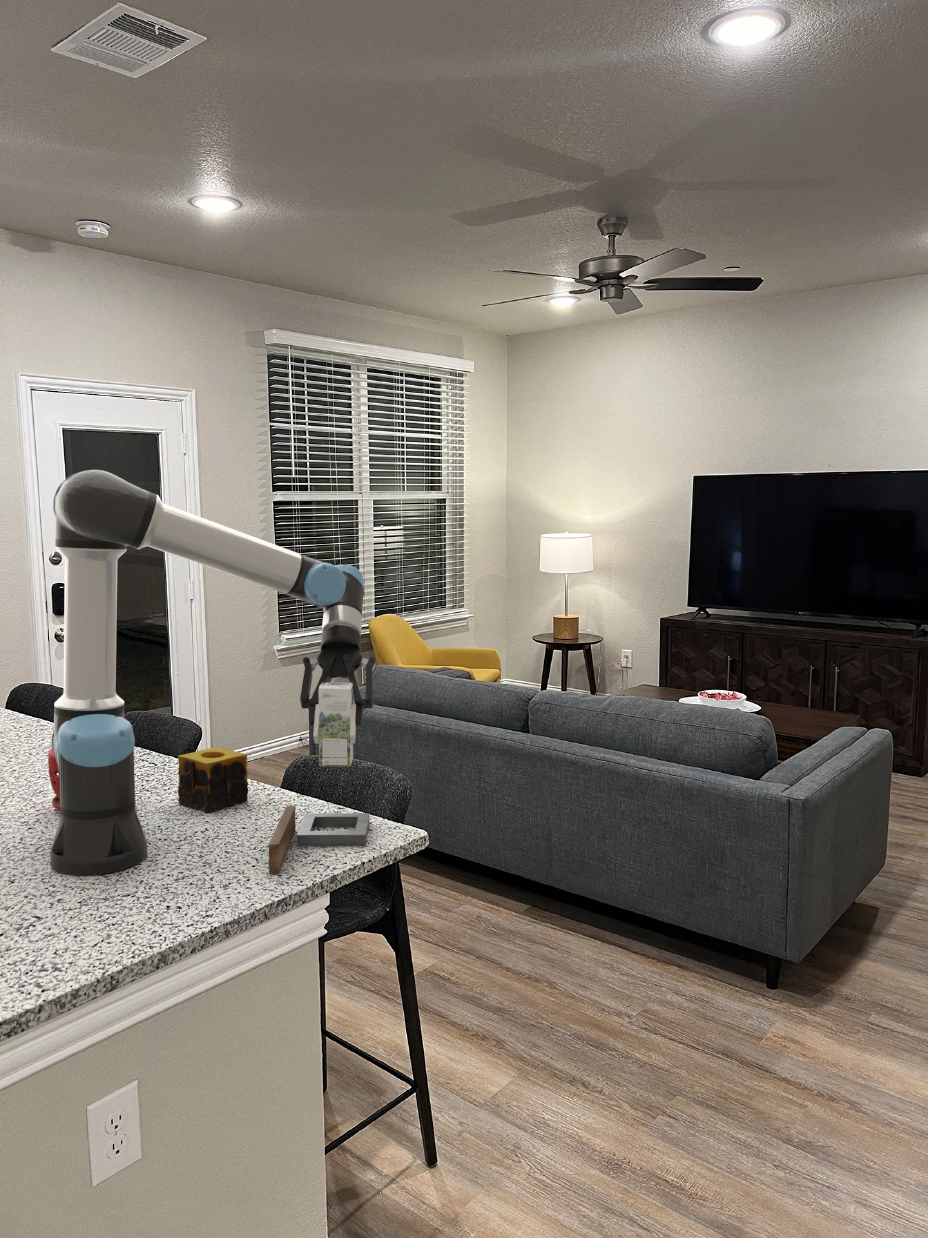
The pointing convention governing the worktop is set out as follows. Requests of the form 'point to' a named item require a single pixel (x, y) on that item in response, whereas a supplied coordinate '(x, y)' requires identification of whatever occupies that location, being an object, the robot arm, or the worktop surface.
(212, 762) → the candle
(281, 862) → the rail
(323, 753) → the syrup box
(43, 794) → the worktop surface
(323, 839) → the block
